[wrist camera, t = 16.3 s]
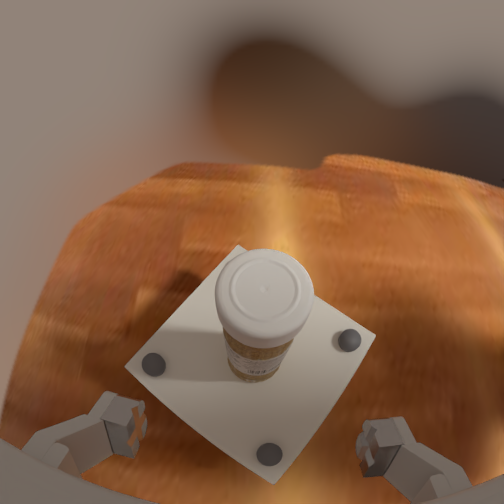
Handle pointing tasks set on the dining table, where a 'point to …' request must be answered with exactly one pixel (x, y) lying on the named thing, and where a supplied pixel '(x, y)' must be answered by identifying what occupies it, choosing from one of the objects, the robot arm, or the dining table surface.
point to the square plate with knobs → (250, 393)
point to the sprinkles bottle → (261, 310)
